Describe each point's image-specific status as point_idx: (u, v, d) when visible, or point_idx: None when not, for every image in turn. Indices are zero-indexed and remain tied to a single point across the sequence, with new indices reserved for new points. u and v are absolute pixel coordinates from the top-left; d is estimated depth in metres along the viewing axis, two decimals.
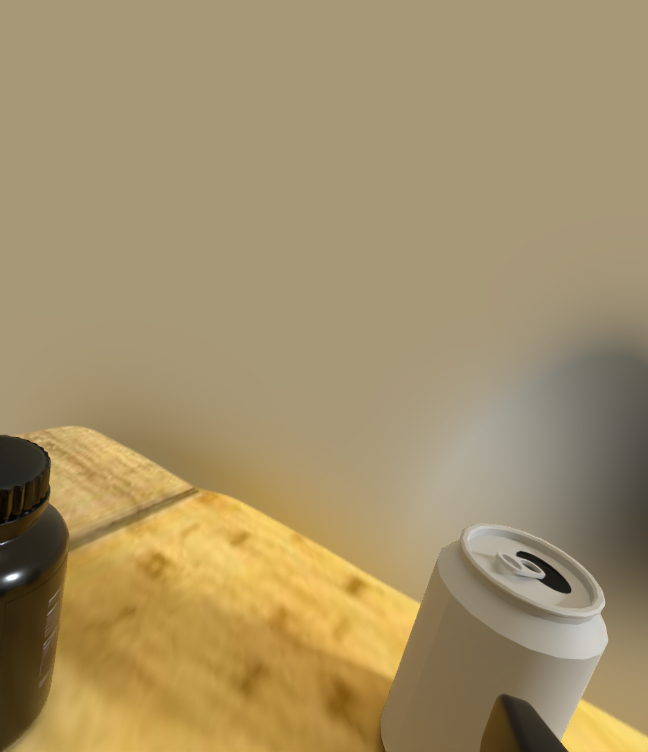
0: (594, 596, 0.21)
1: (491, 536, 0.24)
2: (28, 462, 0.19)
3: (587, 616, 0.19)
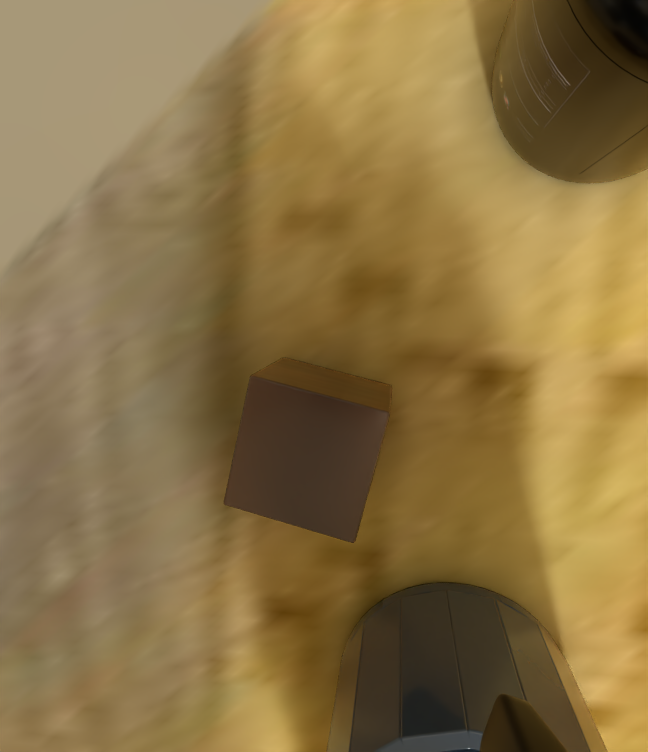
0: None
1: None
2: None
3: None
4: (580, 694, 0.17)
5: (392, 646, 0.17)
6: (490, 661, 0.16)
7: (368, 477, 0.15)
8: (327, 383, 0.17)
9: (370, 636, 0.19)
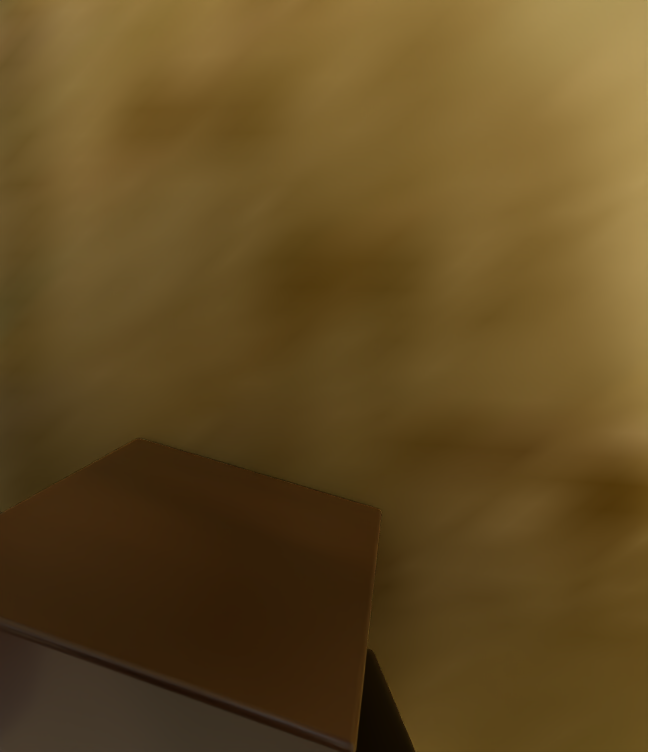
0: None
1: None
2: None
3: None
4: None
5: None
6: None
7: None
8: (188, 553, 0.06)
9: None
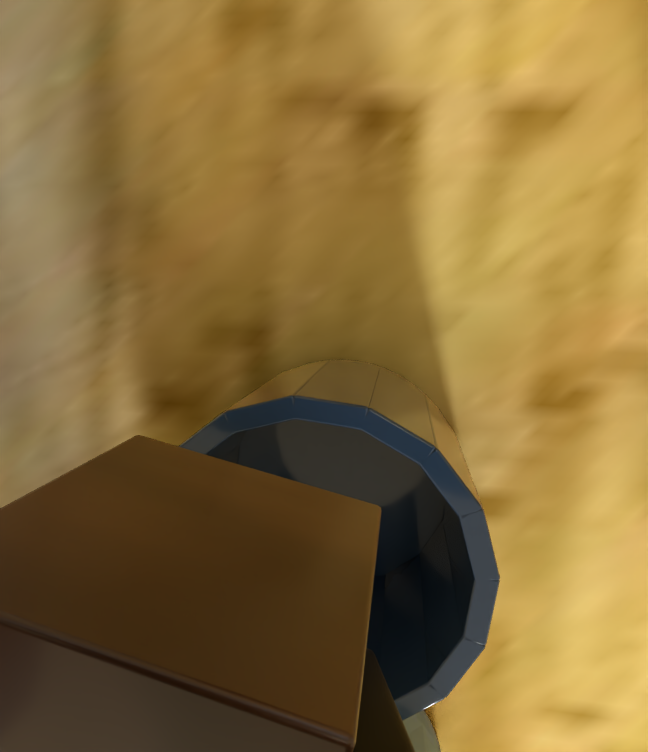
0: None
1: None
2: None
3: None
4: (457, 444, 0.16)
5: None
6: (348, 380, 0.14)
7: None
8: (188, 549, 0.06)
9: None
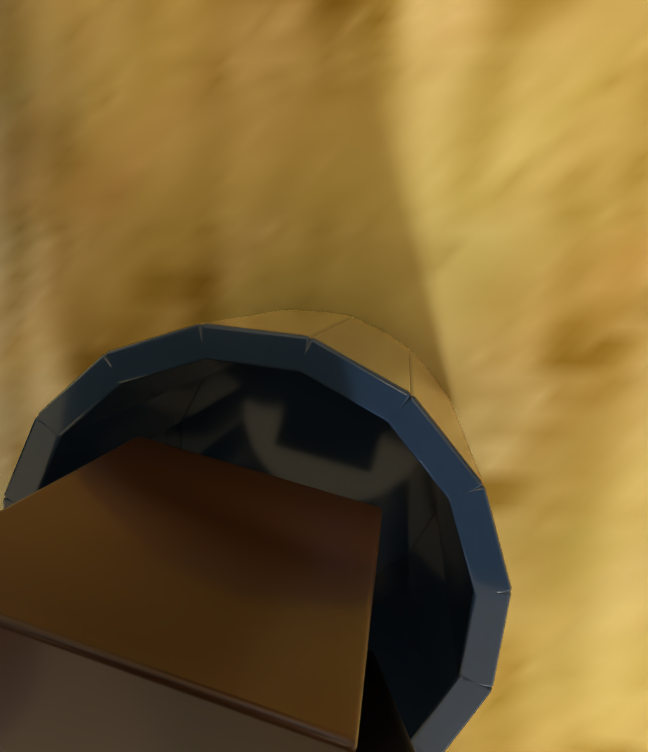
0: None
1: None
2: None
3: None
4: (451, 409, 0.12)
5: None
6: (298, 319, 0.11)
7: None
8: (189, 551, 0.06)
9: None
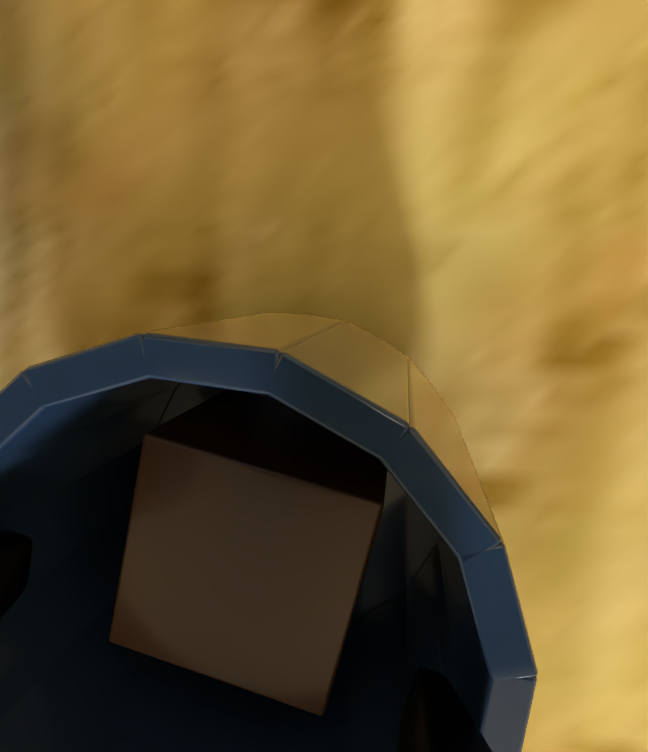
0: None
1: None
2: None
3: None
4: (457, 429, 0.10)
5: None
6: (275, 326, 0.09)
7: (345, 611, 0.09)
8: (284, 439, 0.10)
9: None
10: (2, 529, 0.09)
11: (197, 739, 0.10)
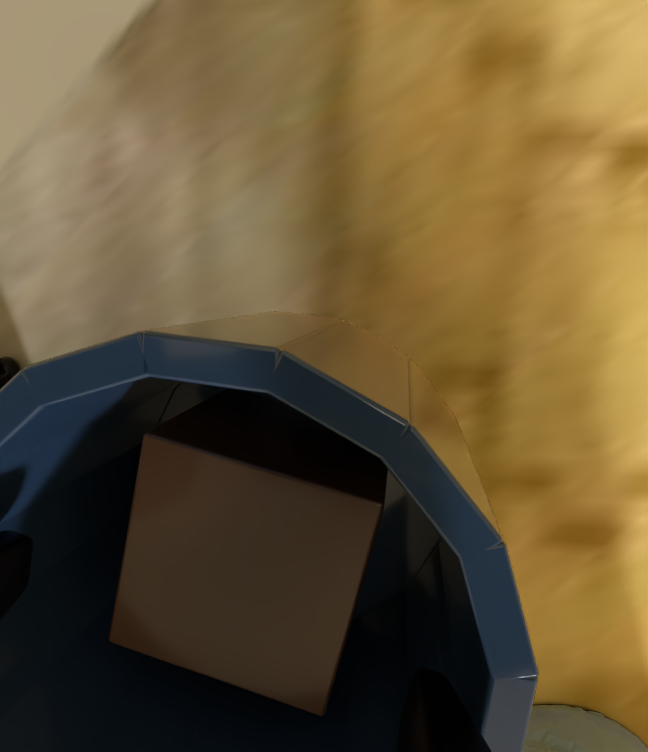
0: None
1: None
2: None
3: None
4: (457, 429, 0.10)
5: None
6: (275, 325, 0.09)
7: (346, 611, 0.09)
8: (284, 438, 0.10)
9: None
10: (1, 529, 0.09)
11: (197, 739, 0.10)
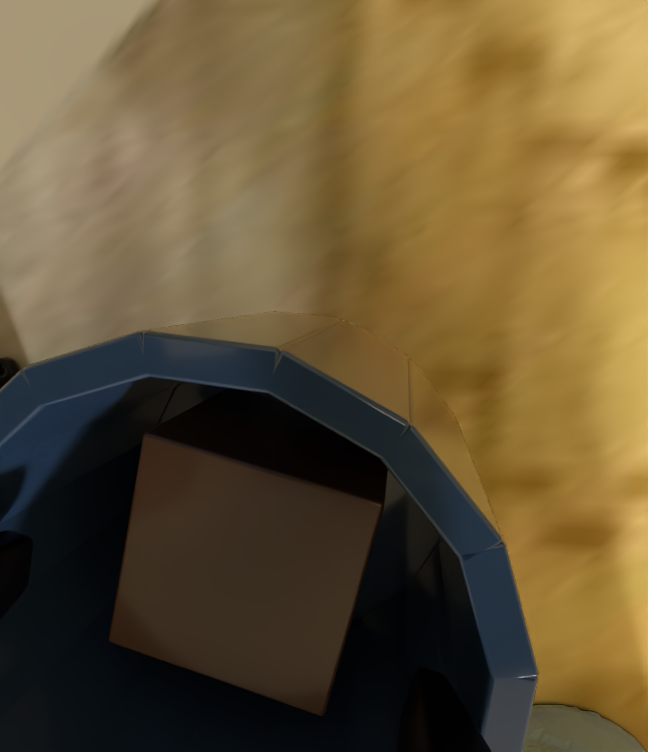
0: None
1: None
2: None
3: None
4: (457, 429, 0.10)
5: None
6: (274, 325, 0.09)
7: (345, 611, 0.09)
8: (284, 438, 0.10)
9: None
10: (1, 529, 0.09)
11: (197, 739, 0.10)
